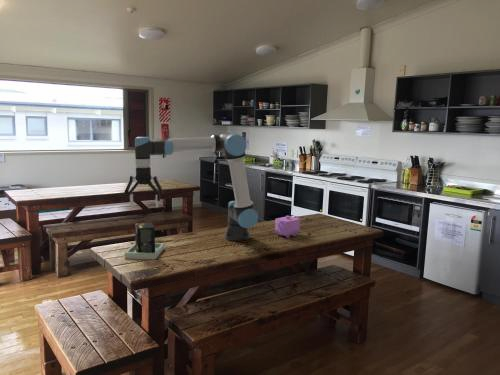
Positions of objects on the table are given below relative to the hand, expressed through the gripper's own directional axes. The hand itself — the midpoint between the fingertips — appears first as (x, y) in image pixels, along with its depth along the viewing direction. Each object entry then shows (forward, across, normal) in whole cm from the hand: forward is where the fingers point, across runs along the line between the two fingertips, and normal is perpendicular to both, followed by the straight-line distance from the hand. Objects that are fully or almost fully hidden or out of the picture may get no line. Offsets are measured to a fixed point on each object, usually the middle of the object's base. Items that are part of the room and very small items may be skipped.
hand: (144, 206), depth 225 cm
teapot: (+27, -78, -45) cm, 94 cm away
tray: (+25, 0, 0) cm, 25 cm away
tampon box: (+25, 0, 0) cm, 25 cm away
